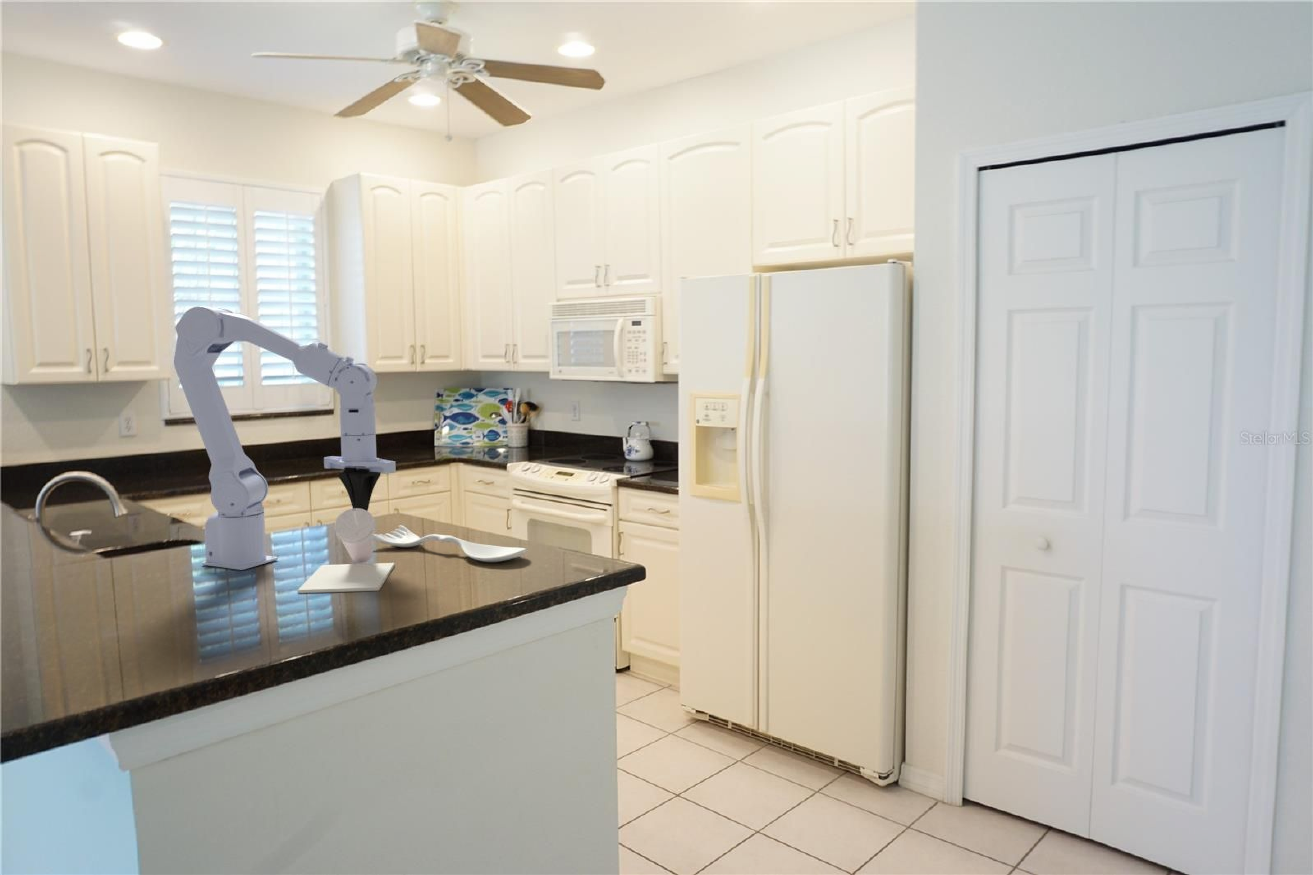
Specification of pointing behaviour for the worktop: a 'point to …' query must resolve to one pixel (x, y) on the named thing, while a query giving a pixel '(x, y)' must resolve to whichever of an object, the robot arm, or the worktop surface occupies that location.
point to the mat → (347, 578)
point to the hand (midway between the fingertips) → (360, 511)
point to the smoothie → (356, 533)
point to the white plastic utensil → (470, 549)
